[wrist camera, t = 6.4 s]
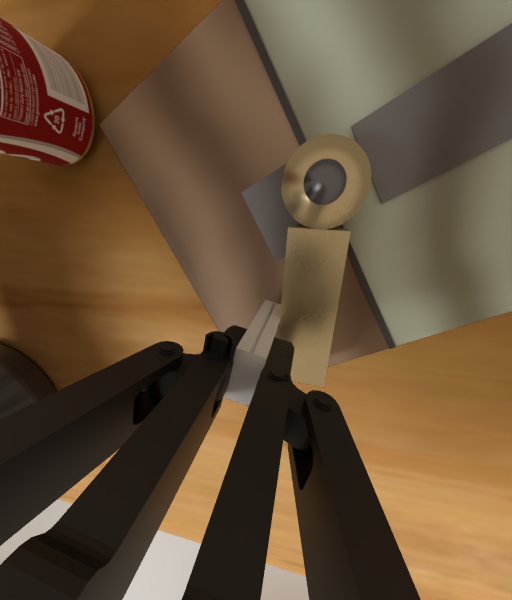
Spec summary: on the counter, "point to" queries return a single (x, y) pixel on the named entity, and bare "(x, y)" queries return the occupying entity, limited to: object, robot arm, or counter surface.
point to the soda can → (41, 102)
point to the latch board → (343, 121)
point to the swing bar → (318, 245)
